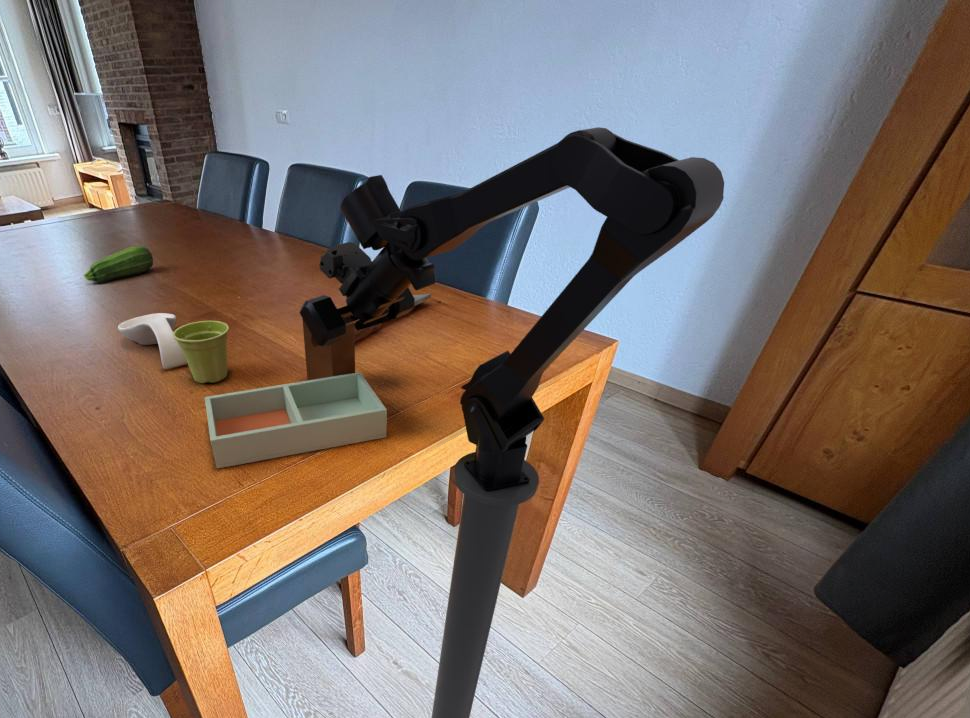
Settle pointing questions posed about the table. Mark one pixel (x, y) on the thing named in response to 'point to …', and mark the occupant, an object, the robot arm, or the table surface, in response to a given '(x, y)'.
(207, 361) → the plant pot
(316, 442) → the divided tray
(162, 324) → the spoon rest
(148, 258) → the vegetable
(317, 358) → the knife block
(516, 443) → the robot arm
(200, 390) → the table surface
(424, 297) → the meat cleaver
